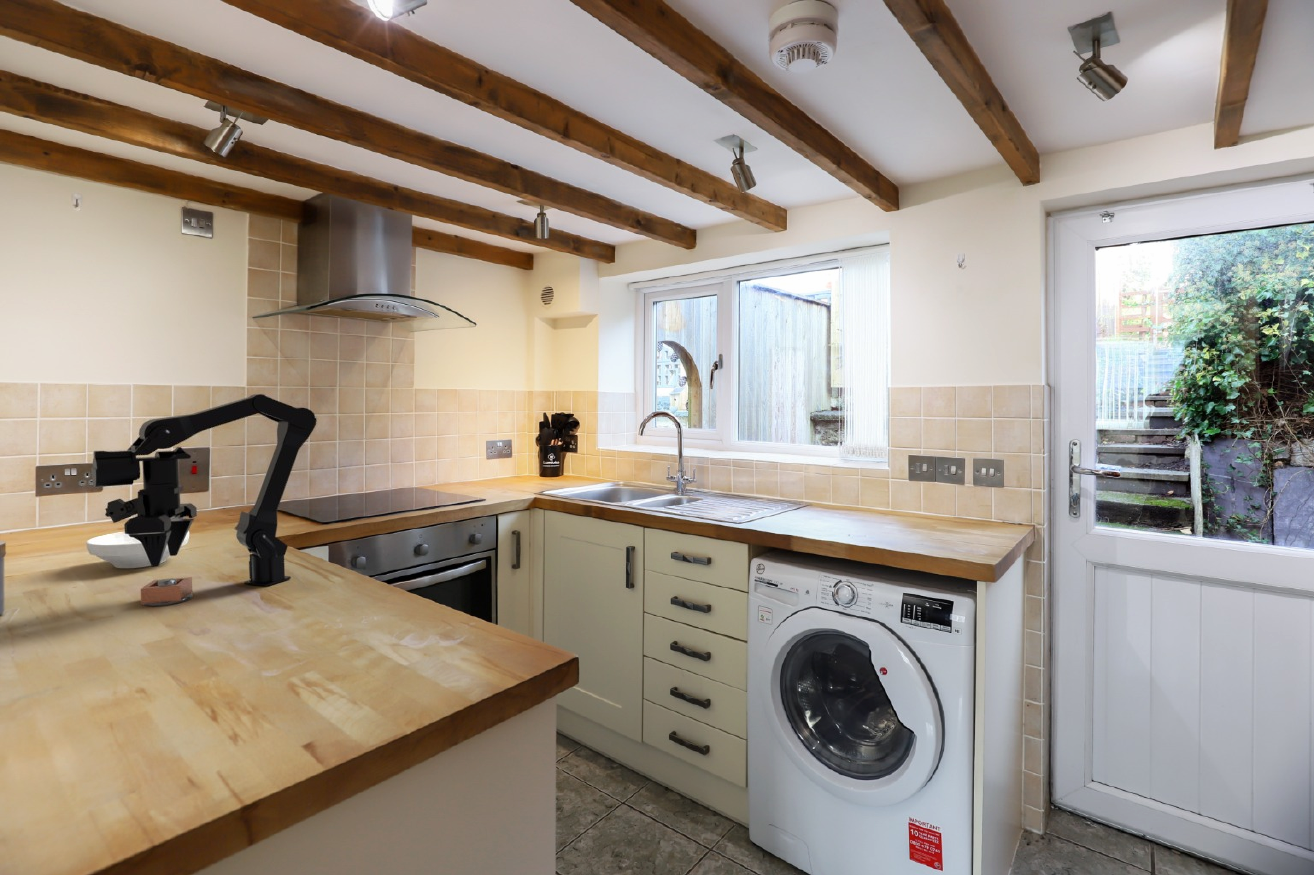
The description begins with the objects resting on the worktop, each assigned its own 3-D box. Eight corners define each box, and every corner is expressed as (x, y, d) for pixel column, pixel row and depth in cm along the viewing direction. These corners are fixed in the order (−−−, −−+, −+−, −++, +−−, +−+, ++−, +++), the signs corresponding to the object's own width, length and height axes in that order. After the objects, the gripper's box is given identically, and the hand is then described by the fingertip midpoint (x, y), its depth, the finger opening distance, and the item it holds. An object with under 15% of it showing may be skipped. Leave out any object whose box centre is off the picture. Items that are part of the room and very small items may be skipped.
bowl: (64, 574, 151) (62, 543, 150) (144, 554, 170) (142, 526, 170) (137, 577, 148) (135, 546, 147) (210, 557, 167) (208, 529, 166)
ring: (192, 591, 135) (191, 577, 135) (181, 600, 129) (180, 585, 129) (154, 594, 133) (154, 580, 133) (141, 604, 127) (140, 588, 127)
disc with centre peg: (202, 596, 134) (201, 576, 133) (162, 608, 126) (161, 587, 126) (172, 592, 136) (171, 573, 136) (132, 604, 128) (131, 584, 128)
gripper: (133, 478, 136) (136, 553, 137) (87, 490, 118) (91, 576, 119) (196, 476, 139) (198, 549, 140) (161, 488, 122) (164, 571, 123)
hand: (164, 560), depth 130 cm, fingers open, 9 cm apart
